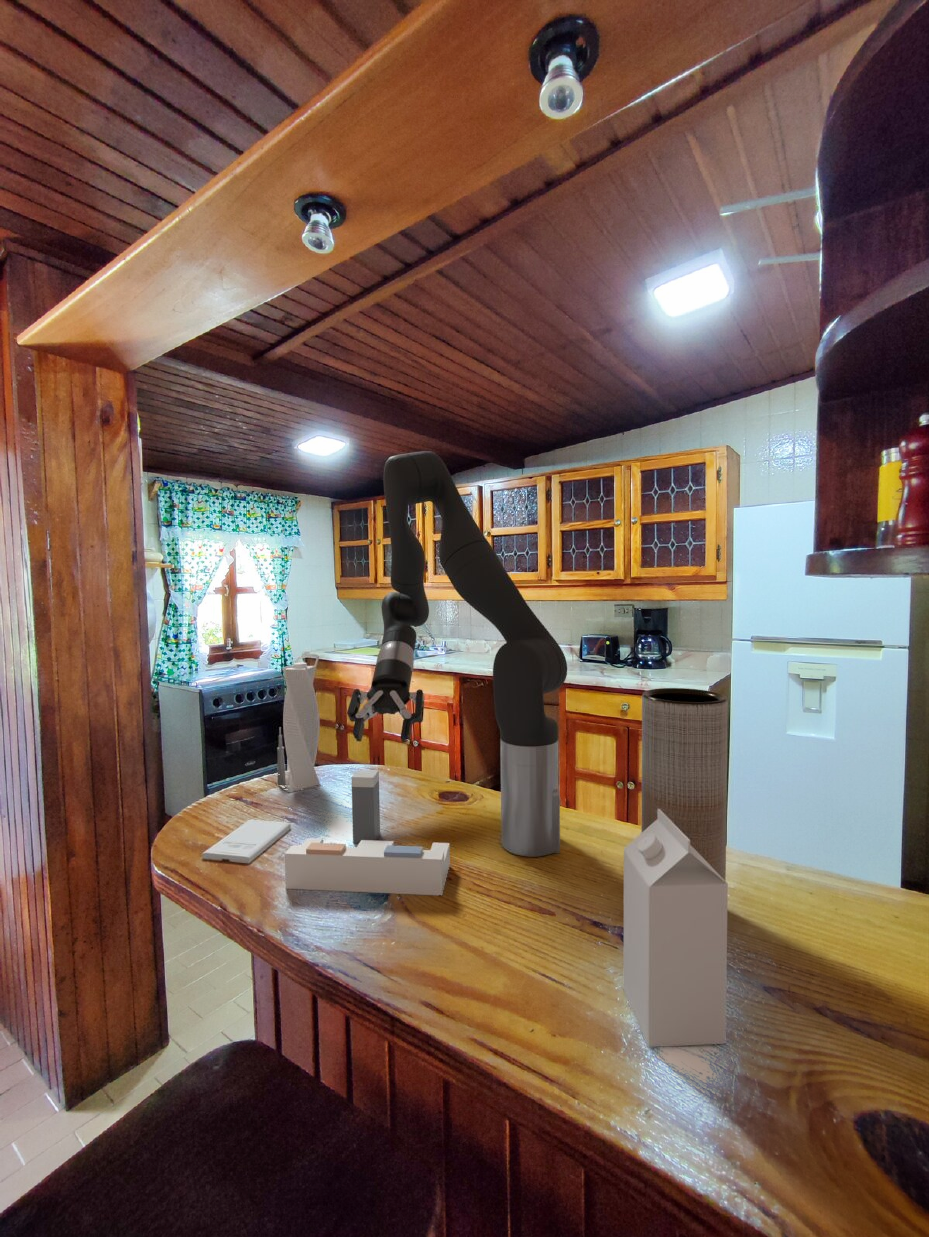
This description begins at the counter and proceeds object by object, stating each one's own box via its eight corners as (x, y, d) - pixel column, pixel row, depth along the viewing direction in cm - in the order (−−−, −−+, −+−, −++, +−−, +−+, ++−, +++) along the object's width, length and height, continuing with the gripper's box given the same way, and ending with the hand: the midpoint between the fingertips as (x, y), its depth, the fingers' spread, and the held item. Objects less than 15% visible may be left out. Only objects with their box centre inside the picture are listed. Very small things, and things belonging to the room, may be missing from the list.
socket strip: (449, 865, 82) (449, 829, 82) (442, 895, 74) (441, 855, 74) (307, 860, 85) (306, 824, 84) (285, 888, 77) (284, 849, 76)
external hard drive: (291, 831, 96) (249, 866, 84) (248, 828, 98) (201, 861, 86) (290, 822, 96) (249, 856, 84) (248, 819, 98) (201, 851, 86)
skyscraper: (313, 776, 124) (309, 652, 122) (329, 786, 118) (325, 655, 116) (275, 785, 118) (271, 655, 117) (290, 796, 112) (286, 659, 111)
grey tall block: (380, 834, 94) (378, 770, 93) (374, 843, 90) (373, 777, 89) (359, 833, 94) (358, 769, 93) (353, 843, 90) (351, 777, 90)
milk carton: (691, 988, 57) (692, 807, 56) (726, 1046, 50) (729, 839, 49) (622, 991, 56) (623, 809, 55) (648, 1049, 49) (649, 841, 48)
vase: (625, 899, 73) (625, 691, 72) (684, 883, 77) (685, 685, 75) (679, 943, 64) (681, 705, 62) (743, 923, 67) (746, 698, 66)
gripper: (355, 657, 110) (337, 728, 99) (426, 657, 108) (415, 729, 98) (363, 679, 115) (347, 749, 105) (431, 679, 114) (421, 750, 103)
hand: (380, 739), depth 101 cm, fingers open, 8 cm apart
